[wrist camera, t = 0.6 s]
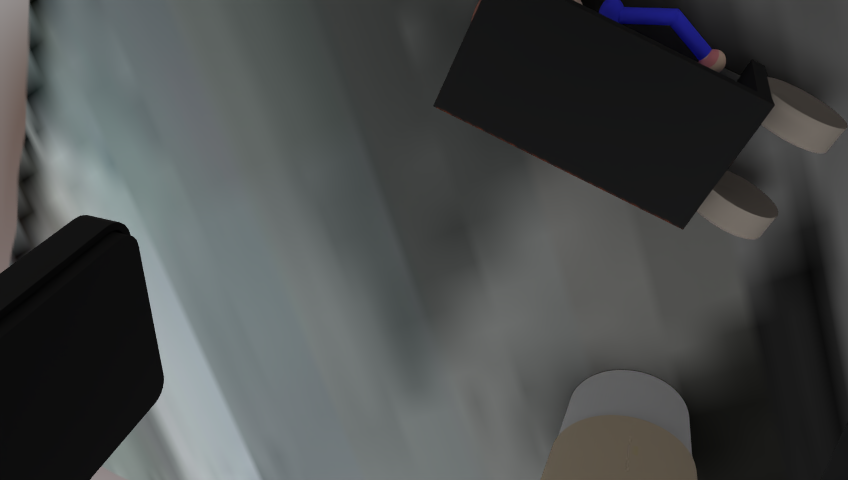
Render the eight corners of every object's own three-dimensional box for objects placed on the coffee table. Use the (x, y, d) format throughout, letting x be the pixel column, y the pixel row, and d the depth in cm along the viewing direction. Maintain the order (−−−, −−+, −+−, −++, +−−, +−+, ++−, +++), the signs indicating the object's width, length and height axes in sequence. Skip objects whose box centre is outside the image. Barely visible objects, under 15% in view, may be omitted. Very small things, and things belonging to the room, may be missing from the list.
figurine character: (830, 60, 34) (513, -83, 33) (879, 139, 28) (491, -35, 27) (740, 181, 38) (455, 56, 37) (765, 274, 32) (424, 125, 31)
